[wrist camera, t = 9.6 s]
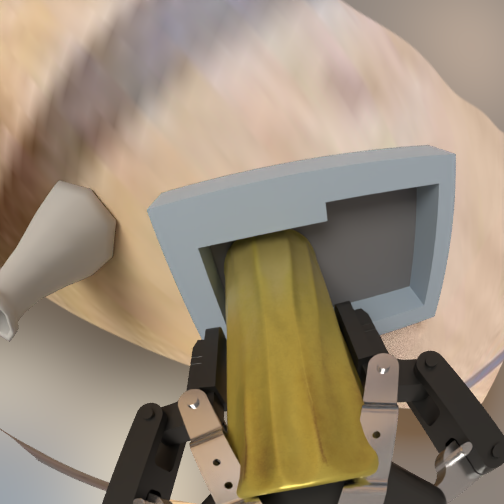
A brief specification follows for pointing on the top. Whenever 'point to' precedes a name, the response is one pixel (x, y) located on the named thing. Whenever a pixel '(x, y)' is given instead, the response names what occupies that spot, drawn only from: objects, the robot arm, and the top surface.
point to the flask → (55, 251)
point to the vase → (288, 371)
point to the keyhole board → (322, 229)
